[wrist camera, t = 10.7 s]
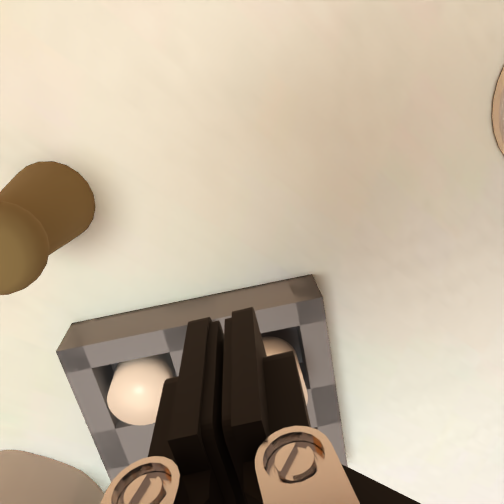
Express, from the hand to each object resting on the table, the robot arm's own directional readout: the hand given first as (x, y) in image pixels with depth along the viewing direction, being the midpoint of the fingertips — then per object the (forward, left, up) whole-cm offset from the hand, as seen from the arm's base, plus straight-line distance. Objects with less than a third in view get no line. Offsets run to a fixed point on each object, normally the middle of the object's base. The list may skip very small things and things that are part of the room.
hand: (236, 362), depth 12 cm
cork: (+13, 0, -24) cm, 27 cm away
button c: (+10, +15, -23) cm, 29 cm away
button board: (+5, +20, -24) cm, 31 cm away
